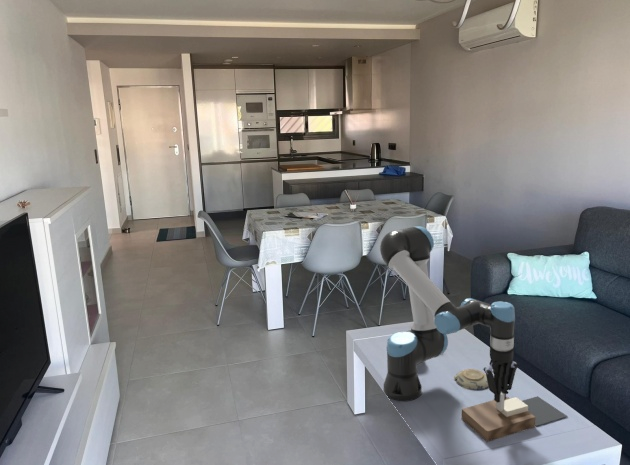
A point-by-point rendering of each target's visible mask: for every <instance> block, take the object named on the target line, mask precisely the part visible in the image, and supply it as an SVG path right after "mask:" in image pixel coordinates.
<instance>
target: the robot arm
mask: <svg viewBox="0 0 630 465" xmlns="http://www.w3.org/2000/svg"><path fill="white" fill-rule="evenodd" d="M434 245H435V243H434V238H433V235H432V234H431V232H430V231H428V229H427V228H426V227H424V226H419V225H418V226H411V227H405V228H403V229H401V228H400V229H397V230H391V231H389V232H388V233H386V234H385V235H384V236H383V237H382V239H381V240H380V245H379V251H380V256H381V258H382V261H383V262H384V264H385V265H386V266H387V267H388V268H389V269H390V270H391V271H395V272H396V274H398V276H399V277H400V278H401V279H402V280H403V282H404V283H405V284H406V285H407V287H408V292H409V293H408V294H409V299H410V305H411V306H410V307H411V312H412V314H411V315H412V320H413V323H412V324H411V326H410V330H411V332H406V331H398V332H395V333H392V334H391V335H390V336H389V337H388V339H387V342H386V343H387V344H386V355H387V356H386V358H387V360H386V361H387V366H386V367H387V373H386V377H385V378H384V383H383V393H384V395H386V397H388V398H390V399H392V400H395V401H398V402H400V401H401V402H409V401H413V400H416V399H418V398H419V397H420V396H421V395H422V393H423V392H422V390H423V389H422V388H423V387H422V384H421V380H420V377H419V375H418V364H420V363H423V362H426V361H428V360H432V359H434V358H437V357H439V356H441V355H442V354H444V353H445V352H446V350H447V348H448V345H449V340H448V335H451V334H454V333H457V332H460V331H462V330H464V329H467V328H469V327H472V326H476V325H478V324H479V325H483V326H485V327H487V328H490V329H489V330H490V332H489V333H490V334H489V336H490V337H489V338H490V339H489V345H490V347H489V358H490V362H489V365H488V366H487V367H483V369H482V370H483V371H484V374H486V377H487V381H488V386H489V388H488V389H489V391H490V392H491V393H492V394H493V395H494V397H493V400H495V401H496V404H495V408H497V409H498V410H499V411H504V400H506V397H507V395H508V394H509V391H511V390H512V388H513V387H512V386H513V385H514V384H513V383H514V380H515V374H516V371H517V369H518V368H519V363H517V362H516V361H514V360H513V359H514V346H515V343H514V342H515V341H514V340H515V333H514V332H515V322H516V321H515V320H516V314H515V309H516V308H515V306H514V305H513V304H512V303H511V302H507V301H502V300H501V301H500V300H499V301H494V302H492V303H491V304H490V303H487V302H484V301H481V300H479V299H475V298H471V297H469V298H465V299H464V300H463V301H462V302H461V304H460V306H457V307H456V306H455V304H454V303H453V302H452V301H451V300H450V299H449V298H448V297H447V296H446V295H445V294H444V293H443V291H441V289H440V288H439V287H438V286H437V285H436V284H435V283H434V281H432V279H430V278H429V277H430V276H429V272H428V271H429V270H428V261H430V260H431V258H430V256H431V255H430V253H431V252H432V251H433V248H434Z"/></svg>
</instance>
